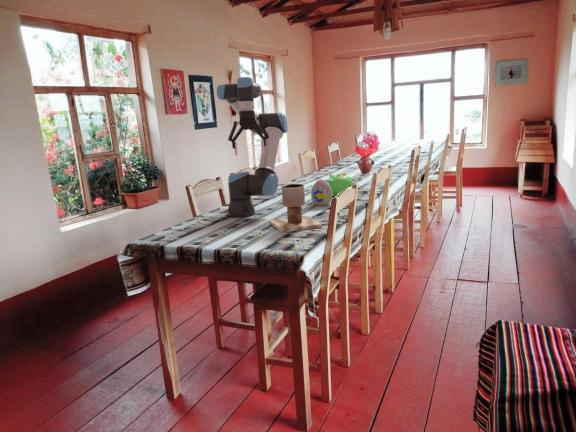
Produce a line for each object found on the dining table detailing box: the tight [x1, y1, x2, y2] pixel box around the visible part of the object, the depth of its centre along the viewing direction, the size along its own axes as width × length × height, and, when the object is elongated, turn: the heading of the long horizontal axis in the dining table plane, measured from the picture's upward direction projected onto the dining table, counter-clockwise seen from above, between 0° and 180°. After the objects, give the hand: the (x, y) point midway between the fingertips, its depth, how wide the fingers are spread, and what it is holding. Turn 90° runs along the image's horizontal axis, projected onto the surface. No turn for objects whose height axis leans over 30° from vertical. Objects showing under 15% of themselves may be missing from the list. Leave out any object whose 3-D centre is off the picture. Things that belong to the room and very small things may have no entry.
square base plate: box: [269, 206, 323, 233], centre depth 223 cm, size 20×20×10 cm
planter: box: [281, 183, 306, 208], centre depth 221 cm, size 11×11×10 cm
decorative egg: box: [310, 179, 333, 207], centre depth 268 cm, size 12×12×15 cm
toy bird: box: [324, 172, 355, 197], centre depth 290 cm, size 18×17×15 cm
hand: (249, 154), depth 227 cm, fingers open, 13 cm apart
